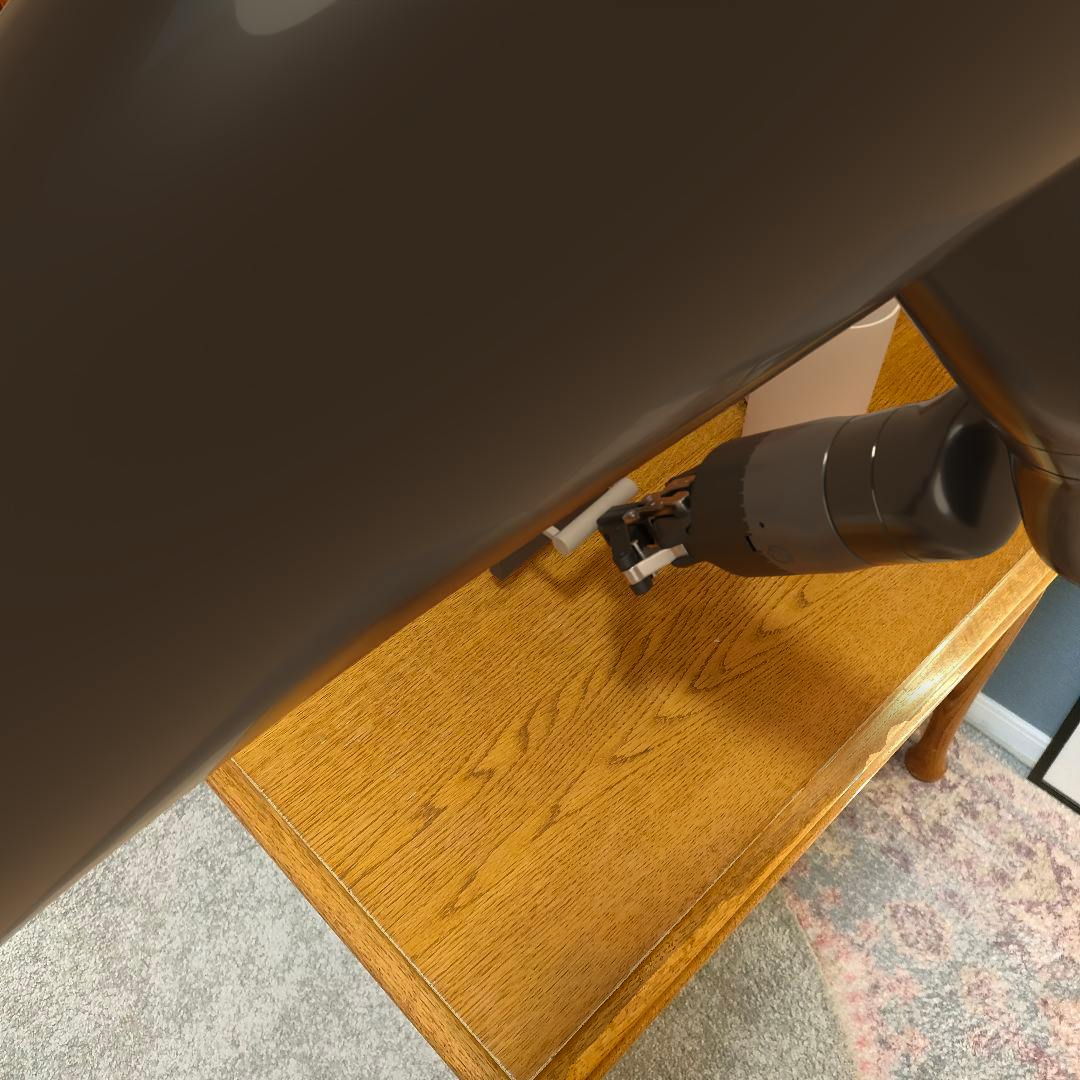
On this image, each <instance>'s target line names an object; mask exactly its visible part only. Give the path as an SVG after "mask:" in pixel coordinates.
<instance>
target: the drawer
mask: <svg viewBox="0 0 1080 1080" xmlns="http://www.w3.org/2000/svg"><path fill="white" fill-rule="evenodd" d="M638 495H639V487H638V485H637V484H636V483H635V481H634V480H633V479H631V478H629V477H624V478H623V479H621V480H620V481H618V482H616V483H615V484H613V485H612V486H610V487H609V488H607V489H606V490H604V491H603V492H601V493H600V494H599V495H597V496H596V497H594V498H593V499H591V500H590V501H588V502H587V503H585V504H584V505H582V506H581V507H579V508H578V509H576V510H575V511H573V512H572V513H570V514H569V515H568V516H566V517H565V518H563V519H562V520H560V521H559V522H557V523H556V524H554V525H553V526H551V527H550V528H548V529H547V530H545V531H544V532H542V533H541V534H539V535H538V536H537V537H535V538H534V539H532V540H531V541H529V542H528V543H526V544H525V545H523V546H522V547H520V548H519V549H517V550H516V551H514V552H513V553H511V554H510V555H508V556H507V557H506V558H504V559H503V560H501V561H500V562H498V563H497V564H495V565H494V566H492V567H491V568H489V572H490V574H491V575H492V576H494V577H495V578H496V579H498V580H499V581H500V582H504V581H505V580H506V579H507V578H508V577H510V576H511V575H512V574H513V573H514V572H516V570H518V569H519V568H520V567H522V565H523V564H524V563H526V562H527V561H528V560H529V559H530V558H532V557H533V556H534V555H535V554H537V553H538V552H539V551H540V550H541V549H543V548H544V547H545V546H546V545H547V544H548V543H550V542H551V541H552V545H553V547H554V549H555V550H556V551H557V552H558V553H560V555H562V556H567V557H568V556H569V555H571V554H572V553H573V552H574V551H575V550H576V549H577V548H579V547H580V546H581V545H582V544H583V543H585V541H587V540H588V539H589V538H590V537H591V536H592V535H593V534H595V533H596V532H597V531H599V530H598V529H597V528H598V525H597V522H596V520H597V519H598V518H599V517H600V516H601V515H603V514H604V513H605V512H606V511H607V510H608V509H610V508H611V507H612V506H617V505H623V504H629V503H631V501H632V500H634V499H635V498H636V497H637V496H638Z"/></svg>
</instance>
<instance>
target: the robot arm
mask: <svg viewBox="0 0 1080 1080" xmlns="http://www.w3.org/2000/svg"><path fill="white" fill-rule="evenodd" d="M893 298H894V299H895V300H896V301H897V303H898V304H899V306H900V307H901V310H902V312H903V313H904V314H905V316H906V317H907V318H908V320H909V321H910V323H911V325H913V326H914V328H915V329H916V331H917V333H918V334H919V335H920V336H921V338H922V339H923V341H924V342H925V344H926V345H927V346H928V348H929V349H930V350H931V351H932V353H933V354H934V356H935V358H937V360H938V361H939V363H940V364H941V366H942V367H943V368H944V369H945V371H946V372H947V374H948V375H949V376H950V378H951V379H952V380H953V382H954V383H955V385H954V386H952V387H950V388H948V389H946V390H945V391H943V392H940V393H939V394H937V395H935V396H933V397H930V398H927V399H922V400H917V401H914V402H910V403H905V404H901V405H896V406H892V407H891V406H890V407H888V408H883V409H879V410H875V411H870V412H866V413H865V414H861V415H853V416H836V417H827V418H822V419H816V420H812V421H808V422H803V423H799V424H795V425H791V426H787V427H782V428H778V429H774V430H770V431H765V432H761V433H757V434H753V435H748V436H744V437H741V436H739V437H737V438H731V439H729V440H726V441H724V442H722V443H719V444H718V445H716V446H715V447H714V448H713V449H712V450H711V451H710V452H708V453H707V454H706V456H705V457H704V458H703V460H702V461H701V462H700V463H699V464H698V465H696V466H693V467H692V468H690V469H687V470H685V471H684V472H682V473H680V474H678V475H674V476H671V477H670V478H669V479H668V480H667V481H666V482H665V484H664V488H663V489H662V490H660V491H655V492H651V493H648V494H646V495H645V496H644V497H643V498H642V499H641V500H640V501H636V502H629V503H628V504H623V505H617V506H612V507H611V508H610V509H608V510H607V511H606V512H605V513H604V514H603V515H601V516H600V517H599V518H598V519H597V520H596V522H597V525H598V528H597V529H598V530H597V531H598V532H599V534H600V535H601V536H602V538H603V540H604V541H605V543H606V544H607V546H608V547H610V552H611V560H612V562H613V564H614V565H615V566H616V568H617V570H618V571H619V573H620V575H621V576H622V578H623V579H624V581H625V583H626V584H627V585H628V587H629V589H630V590H631V592H632V593H633V595H634V596H635V597H640V596H642V595H646V594H647V593H649V592H650V590H652V589H653V587H654V581H653V579H656V578H657V577H659V572H658V571H660V570H661V569H663V568H665V567H666V566H668V565H671V566H672V567H674V568H677V569H685V568H689V567H692V566H694V565H698V564H700V563H705V562H706V563H708V564H711V565H713V566H715V567H717V568H719V569H721V570H722V571H725V572H726V573H728V574H731V575H733V576H737V577H741V578H771V577H773V578H774V577H791V576H807V575H808V576H809V575H830V574H831V575H832V574H844V573H851V572H852V573H853V572H857V571H864V570H867V569H870V568H876V567H881V566H882V567H883V566H901V565H920V564H921V565H922V564H935V563H954V562H964V561H965V562H966V561H971V560H977V559H981V558H984V557H987V556H989V555H991V554H994V553H995V552H997V551H998V550H1000V549H1001V548H1003V547H1004V546H1005V545H1006V544H1007V543H1008V542H1009V541H1010V539H1011V538H1012V537H1013V536H1014V534H1015V533H1016V532H1017V530H1018V529H1019V526H1020V524H1021V521H1022V524H1023V527H1024V530H1025V533H1026V537H1027V539H1028V541H1029V543H1030V545H1031V547H1032V548H1033V550H1034V552H1035V553H1036V554H1037V556H1038V558H1039V559H1040V560H1041V561H1042V562H1043V563H1044V564H1045V565H1046V566H1047V567H1048V568H1050V570H1052V571H1053V572H1054V573H1056V575H1058V576H1060V577H1061V578H1062V579H1064V580H1065V581H1067V582H1069V583H1070V584H1072V585H1074V586H1076V587H1078V588H1080V0H7V2H6V3H5V5H4V6H3V7H2V9H1V10H0V948H2V947H3V946H4V945H5V944H6V943H7V942H8V941H9V940H11V939H12V938H13V937H14V936H15V935H16V934H17V933H18V932H20V930H22V929H23V928H24V927H25V926H26V925H28V923H30V922H31V921H32V920H33V919H35V918H36V917H37V916H39V914H40V913H42V912H43V911H44V910H45V909H47V908H48V907H49V906H50V905H51V904H52V903H54V902H55V901H56V900H57V899H58V898H60V897H61V896H63V894H64V893H66V892H67V891H69V889H71V888H72V887H73V886H74V885H75V884H77V883H78V882H79V881H80V880H81V879H82V878H84V877H85V876H86V875H87V874H88V873H90V872H91V871H93V870H94V869H95V868H97V867H98V866H99V865H100V864H101V863H102V862H103V861H105V860H106V859H108V858H109V857H110V856H112V854H113V853H115V852H116V851H118V849H120V848H121V847H122V846H123V845H125V844H126V843H127V842H128V841H130V840H131V839H132V838H133V837H135V836H136V835H137V834H139V833H140V832H141V831H142V830H143V829H145V828H146V827H147V826H148V825H150V824H151V823H152V822H153V821H155V820H156V819H157V818H158V817H160V816H161V815H162V814H163V813H164V812H166V811H167V810H168V809H170V808H171V807H172V806H173V805H174V804H176V803H177V802H178V801H179V800H181V799H182V798H184V797H185V796H186V795H187V794H188V793H190V792H192V790H194V789H195V788H196V787H198V786H199V785H200V784H201V783H203V782H204V781H205V780H206V779H207V778H208V777H210V776H212V774H213V773H215V772H216V771H218V769H220V768H221V767H222V766H224V765H225V764H226V763H228V762H229V761H230V760H231V759H233V758H234V757H235V756H236V755H237V754H238V753H240V752H241V751H242V750H243V749H245V748H246V747H247V746H249V745H250V744H251V743H252V742H254V741H255V740H256V739H258V738H259V737H260V736H261V735H263V734H264V733H265V732H267V731H268V730H269V729H271V728H273V726H276V724H277V723H278V722H280V721H282V720H283V719H284V718H285V717H286V716H288V715H289V714H291V713H292V712H294V710H296V709H297V708H298V707H300V706H301V705H302V704H303V703H305V702H306V701H307V700H309V699H310V698H312V697H313V696H314V695H315V694H317V693H319V691H320V690H322V689H323V688H324V687H326V686H327V685H328V684H330V683H331V682H332V681H334V680H335V679H337V678H338V677H340V675H343V673H345V672H346V671H348V669H350V668H351V667H353V666H355V665H356V664H357V663H358V662H360V661H361V660H362V659H363V658H365V657H366V656H368V655H369V654H371V653H372V652H373V651H375V650H376V649H377V648H379V647H380V646H382V645H383V644H384V643H386V642H387V641H388V640H390V639H391V638H392V637H394V636H395V635H396V634H398V633H400V631H402V630H403V629H405V627H407V626H408V625H410V624H411V623H413V622H414V621H416V620H417V619H419V618H420V617H422V616H423V615H425V614H426V613H427V612H429V611H430V610H432V609H433V608H434V607H436V606H438V605H439V604H440V603H442V602H443V601H445V600H446V599H447V598H449V597H450V596H452V595H453V594H454V593H456V592H458V591H459V590H460V589H462V588H463V587H465V586H467V585H468V584H469V583H471V582H473V580H475V579H477V578H478V577H480V576H481V575H482V574H483V573H485V572H487V571H488V570H490V568H491V567H492V566H494V565H495V564H497V563H498V562H500V561H501V560H503V559H504V558H506V557H507V556H508V555H510V554H511V553H513V552H514V551H516V550H517V549H519V548H520V547H522V546H523V545H525V544H526V543H528V542H529V541H531V540H532V539H534V538H535V537H537V536H538V535H539V534H541V533H542V532H544V531H545V530H547V529H548V528H550V527H551V526H553V525H554V524H556V523H557V522H559V521H560V520H562V519H563V518H565V517H566V516H568V515H569V514H570V513H572V512H573V511H575V510H576V509H578V508H579V507H581V506H582V505H584V504H585V503H587V502H588V501H590V500H591V499H593V498H594V497H596V496H597V495H599V494H600V493H601V492H603V491H604V490H606V489H607V488H609V487H610V486H612V485H613V484H615V483H616V482H618V481H620V480H621V479H623V478H627V476H629V475H630V474H632V473H633V472H635V471H636V470H638V469H639V468H640V467H642V466H645V465H646V464H647V463H648V462H650V461H651V460H653V459H655V458H656V457H657V456H659V455H660V454H661V453H663V452H665V451H666V450H668V449H669V448H671V447H672V446H674V445H675V444H677V443H678V442H680V441H681V440H683V439H685V438H687V437H688V436H689V435H691V434H692V433H694V432H695V431H696V430H698V429H700V428H701V427H703V426H704V425H706V424H707V423H709V422H710V421H712V420H713V419H714V418H716V417H717V416H719V415H721V414H723V413H724V412H725V411H726V410H728V409H730V408H731V407H732V406H734V405H736V404H738V403H739V402H740V401H742V400H743V399H745V397H746V396H748V395H749V394H751V393H752V392H754V391H755V390H757V389H758V388H760V387H761V386H763V385H764V384H766V383H767V382H769V381H770V380H772V379H773V378H775V377H776V376H778V375H779V374H781V373H782V372H784V371H785V370H787V369H789V368H790V367H792V366H793V365H795V364H796V363H798V362H799V361H801V360H802V359H804V358H805V357H807V356H808V355H810V354H811V353H813V352H814V351H816V350H817V349H819V348H820V347H822V346H823V345H825V344H826V343H828V342H829V341H831V340H832V339H834V338H835V337H837V336H838V335H840V334H841V333H843V332H844V331H846V330H847V329H849V328H850V327H852V326H853V325H855V324H856V323H858V322H859V321H861V320H862V319H864V318H865V317H867V316H868V315H870V314H871V313H872V312H874V311H875V310H877V309H878V308H880V307H881V306H883V305H884V304H886V303H887V302H888V301H890V300H891V299H893Z"/></svg>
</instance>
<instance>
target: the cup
mask: <svg viewBox="0 0 1080 1080" xmlns="http://www.w3.org/2000/svg"><path fill="white" fill-rule="evenodd" d="M901 310H902V308H901V307H900V306H899V304H898V303H897V301H896V300H895V299H894V298H893V299H891V300H890V301H888V302H887V303H886V304H884V305H883V306H881V307H880V308H878V309H877V310H875V311H874V312H872V313H871V314H870V315H868V316H867V317H865V318H864V319H862V320H861V321H859V322H858V323H856V324H855V325H853V326H852V327H850V328H849V329H847V330H846V331H844V332H843V333H841V334H840V335H838V336H837V337H835V338H834V339H832V340H831V341H829V342H828V343H826V344H825V345H823V346H822V347H820V348H819V349H817V350H816V351H814V352H813V353H811V354H810V355H808V356H807V357H805V358H804V359H802V360H801V361H799V362H798V363H796V364H795V365H793V366H792V367H790V368H789V369H787V370H785V371H784V372H782V373H781V374H779V375H778V376H776V377H775V378H773V379H772V380H770V381H769V382H767V383H766V384H764V385H763V386H761V387H760V388H758V389H757V390H755V391H754V392H752V393H751V394H750V395H749V400H748V403H747V405H746V406H747V407H746V411H745V415H744V421H743V427H742V432H741V436H740V437H744V436H748V435H753V434H757V433H761V432H765V431H770V430H774V429H778V428H782V427H787V426H791V425H795V424H799V423H803V422H808V421H812V420H816V419H822V418H827V417H836V416H853V415H861V414H865V413H868V412H867V411H868V409H869V405H870V404H871V403H870V402H871V400H872V396H873V393H874V390H875V387H876V384H877V382H878V378H879V375H880V372H881V369H882V367H883V363H884V360H885V357H886V354H887V351H888V349H889V345H890V342H891V339H892V336H893V333H894V329H895V327H896V323H897V321H898V320H897V319H898V318H899V315H900V312H901Z"/></svg>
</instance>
